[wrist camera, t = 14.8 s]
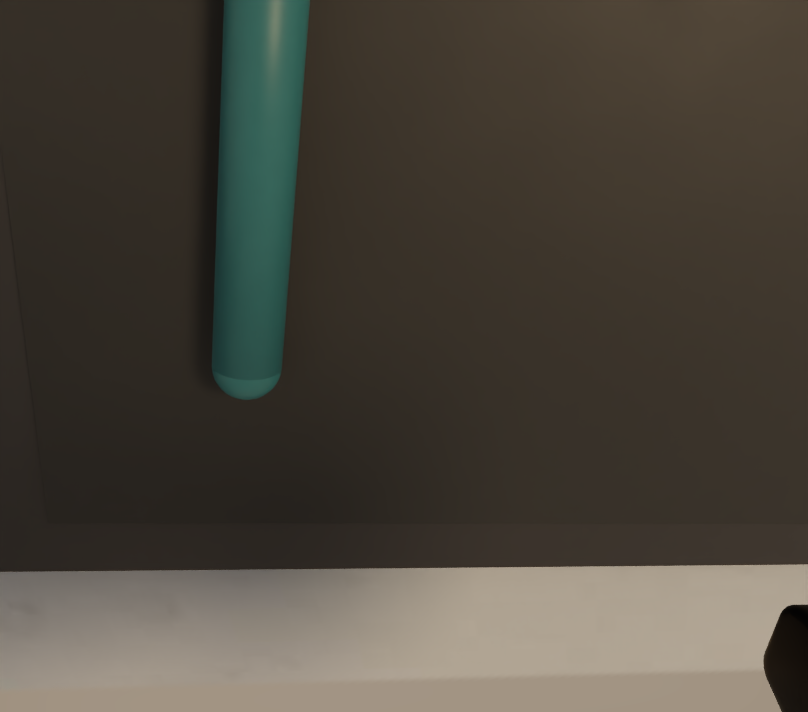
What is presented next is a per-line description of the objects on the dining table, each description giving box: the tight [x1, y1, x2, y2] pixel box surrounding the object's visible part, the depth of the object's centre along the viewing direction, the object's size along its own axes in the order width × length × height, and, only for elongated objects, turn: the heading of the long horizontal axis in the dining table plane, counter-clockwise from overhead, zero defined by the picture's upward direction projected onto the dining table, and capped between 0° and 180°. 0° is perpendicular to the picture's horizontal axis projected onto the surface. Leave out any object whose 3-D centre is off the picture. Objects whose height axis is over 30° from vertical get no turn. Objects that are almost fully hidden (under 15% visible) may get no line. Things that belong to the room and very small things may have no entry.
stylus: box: [212, 0, 310, 400], centre depth 12 cm, size 1×1×13 cm
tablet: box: [0, 0, 808, 572], centre depth 15 cm, size 28×20×1 cm
